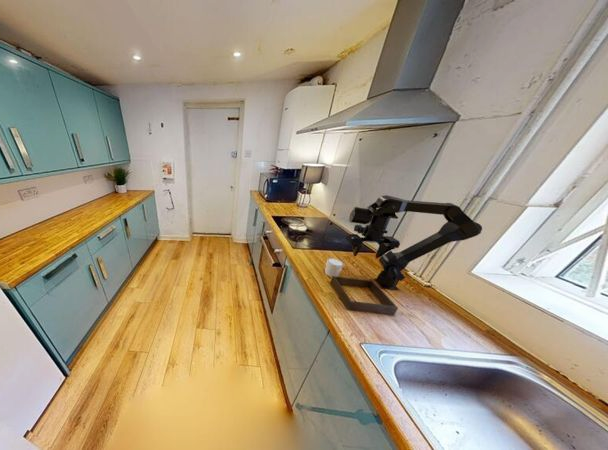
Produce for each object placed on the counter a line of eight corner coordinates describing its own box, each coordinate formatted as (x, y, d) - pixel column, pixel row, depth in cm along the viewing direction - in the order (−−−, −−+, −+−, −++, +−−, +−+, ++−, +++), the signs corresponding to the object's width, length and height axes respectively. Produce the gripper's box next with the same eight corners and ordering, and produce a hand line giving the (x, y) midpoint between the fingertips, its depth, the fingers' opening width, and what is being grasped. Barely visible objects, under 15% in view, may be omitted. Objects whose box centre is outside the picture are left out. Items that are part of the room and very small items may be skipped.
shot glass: (341, 279, 93) (346, 267, 90) (326, 277, 94) (330, 265, 91) (336, 270, 99) (340, 259, 96) (321, 268, 100) (325, 257, 97)
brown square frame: (369, 287, 89) (372, 280, 87) (393, 315, 74) (398, 307, 73) (330, 282, 90) (332, 275, 89) (346, 309, 76) (350, 302, 75)
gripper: (388, 219, 89) (376, 249, 96) (344, 217, 91) (335, 246, 98) (408, 230, 79) (392, 262, 86) (358, 227, 81) (346, 259, 88)
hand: (365, 256), depth 89 cm, fingers open, 9 cm apart
